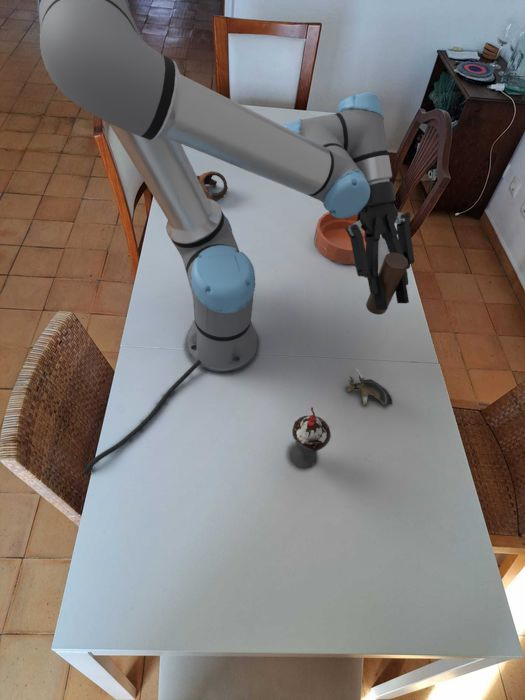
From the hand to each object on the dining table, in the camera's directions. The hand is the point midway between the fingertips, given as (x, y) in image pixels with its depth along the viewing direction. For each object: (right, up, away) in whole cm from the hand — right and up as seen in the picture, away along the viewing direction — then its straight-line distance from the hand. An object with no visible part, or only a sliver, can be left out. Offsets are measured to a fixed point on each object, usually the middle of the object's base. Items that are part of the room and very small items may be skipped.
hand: (392, 305), depth 90 cm
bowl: (-4, +20, +34) cm, 39 cm away
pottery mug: (-42, +36, +42) cm, 70 cm away
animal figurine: (-4, -19, +6) cm, 20 cm away
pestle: (-2, 0, +5) cm, 6 cm away
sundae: (-18, -29, -3) cm, 34 cm away
